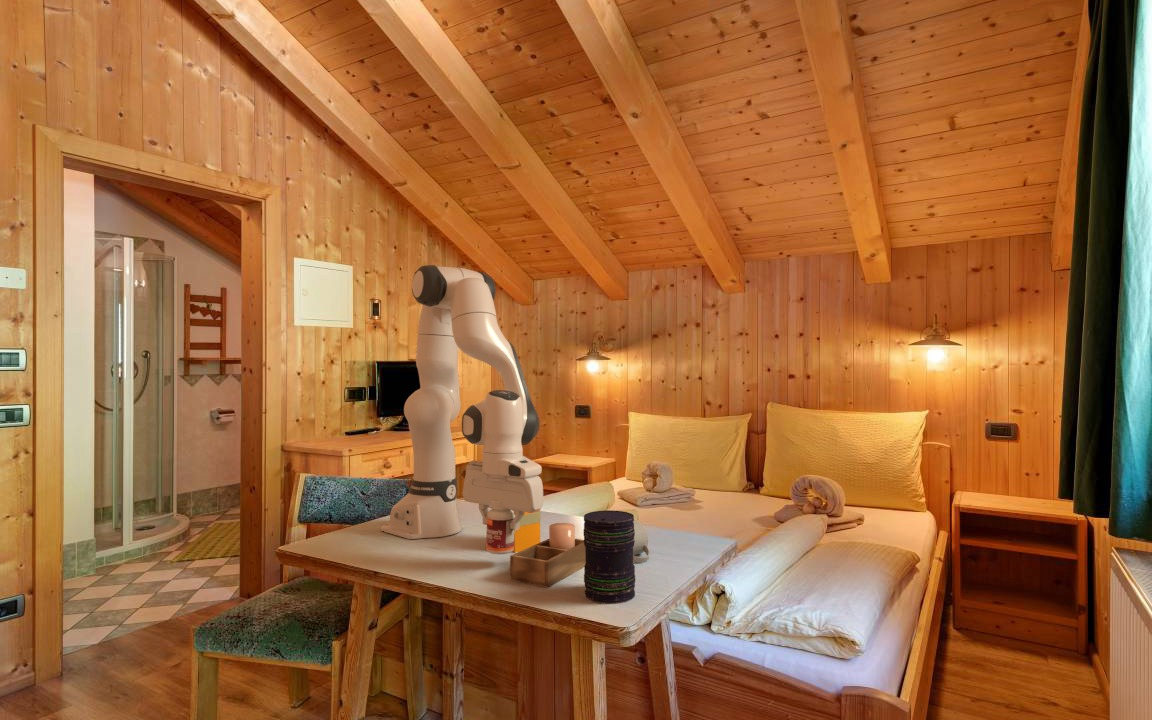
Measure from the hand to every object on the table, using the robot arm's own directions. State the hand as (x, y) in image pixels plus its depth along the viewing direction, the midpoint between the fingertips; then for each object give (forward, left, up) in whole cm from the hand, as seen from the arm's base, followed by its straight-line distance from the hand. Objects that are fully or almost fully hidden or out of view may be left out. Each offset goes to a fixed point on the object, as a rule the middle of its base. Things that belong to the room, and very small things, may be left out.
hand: (500, 527), depth 137 cm
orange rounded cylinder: (+12, +6, -8) cm, 16 cm away
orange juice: (-6, +15, -9) cm, 18 cm away
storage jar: (+29, -4, -9) cm, 31 cm away
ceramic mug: (+22, +19, -9) cm, 31 cm away
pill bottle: (0, 0, -5) cm, 5 cm away
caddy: (+12, +2, -9) cm, 15 cm away
